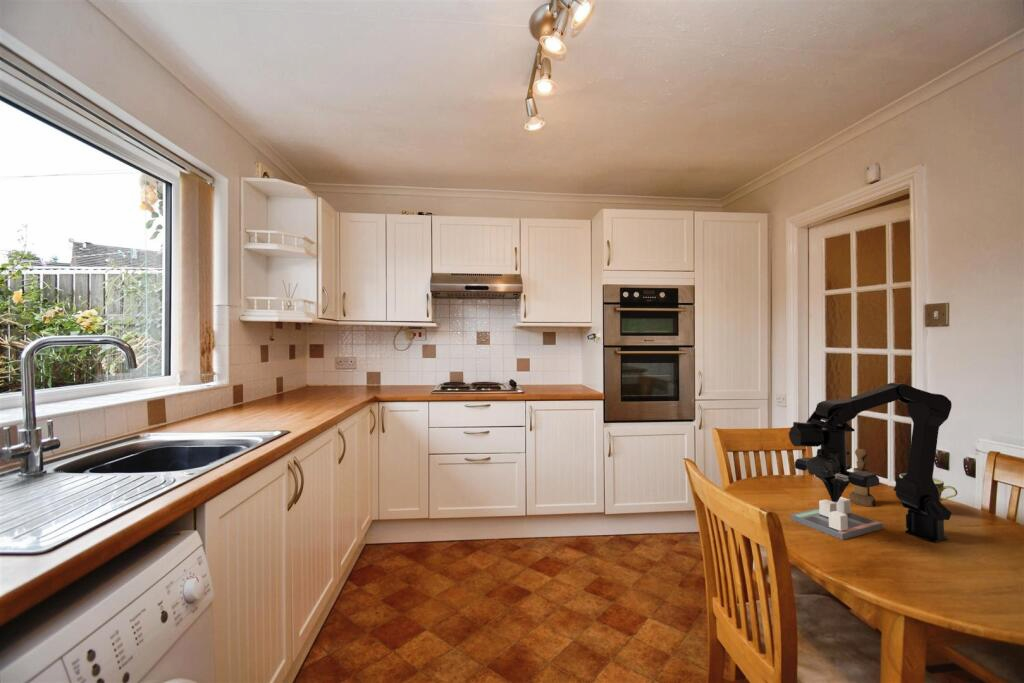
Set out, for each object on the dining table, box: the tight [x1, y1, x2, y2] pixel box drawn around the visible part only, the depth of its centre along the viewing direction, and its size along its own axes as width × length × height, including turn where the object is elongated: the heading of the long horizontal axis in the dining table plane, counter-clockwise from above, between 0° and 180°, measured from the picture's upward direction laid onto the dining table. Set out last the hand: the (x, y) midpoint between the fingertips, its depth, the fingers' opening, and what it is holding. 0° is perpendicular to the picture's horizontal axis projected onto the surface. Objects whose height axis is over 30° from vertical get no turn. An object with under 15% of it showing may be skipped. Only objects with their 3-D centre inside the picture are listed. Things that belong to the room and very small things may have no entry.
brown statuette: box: [848, 448, 876, 507], centre depth 134 cm, size 7×6×18 cm
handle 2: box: [829, 511, 848, 531], centre depth 112 cm, size 3×3×4 cm
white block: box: [835, 496, 852, 514], centre depth 123 cm, size 3×3×4 cm
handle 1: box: [818, 499, 837, 517], centre depth 120 cm, size 3×3×4 cm
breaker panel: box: [790, 507, 884, 541], centre depth 118 cm, size 14×18×2 cm
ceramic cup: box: [899, 473, 958, 503], centre depth 126 cm, size 13×10×10 cm
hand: (834, 501), depth 113 cm, fingers closed
